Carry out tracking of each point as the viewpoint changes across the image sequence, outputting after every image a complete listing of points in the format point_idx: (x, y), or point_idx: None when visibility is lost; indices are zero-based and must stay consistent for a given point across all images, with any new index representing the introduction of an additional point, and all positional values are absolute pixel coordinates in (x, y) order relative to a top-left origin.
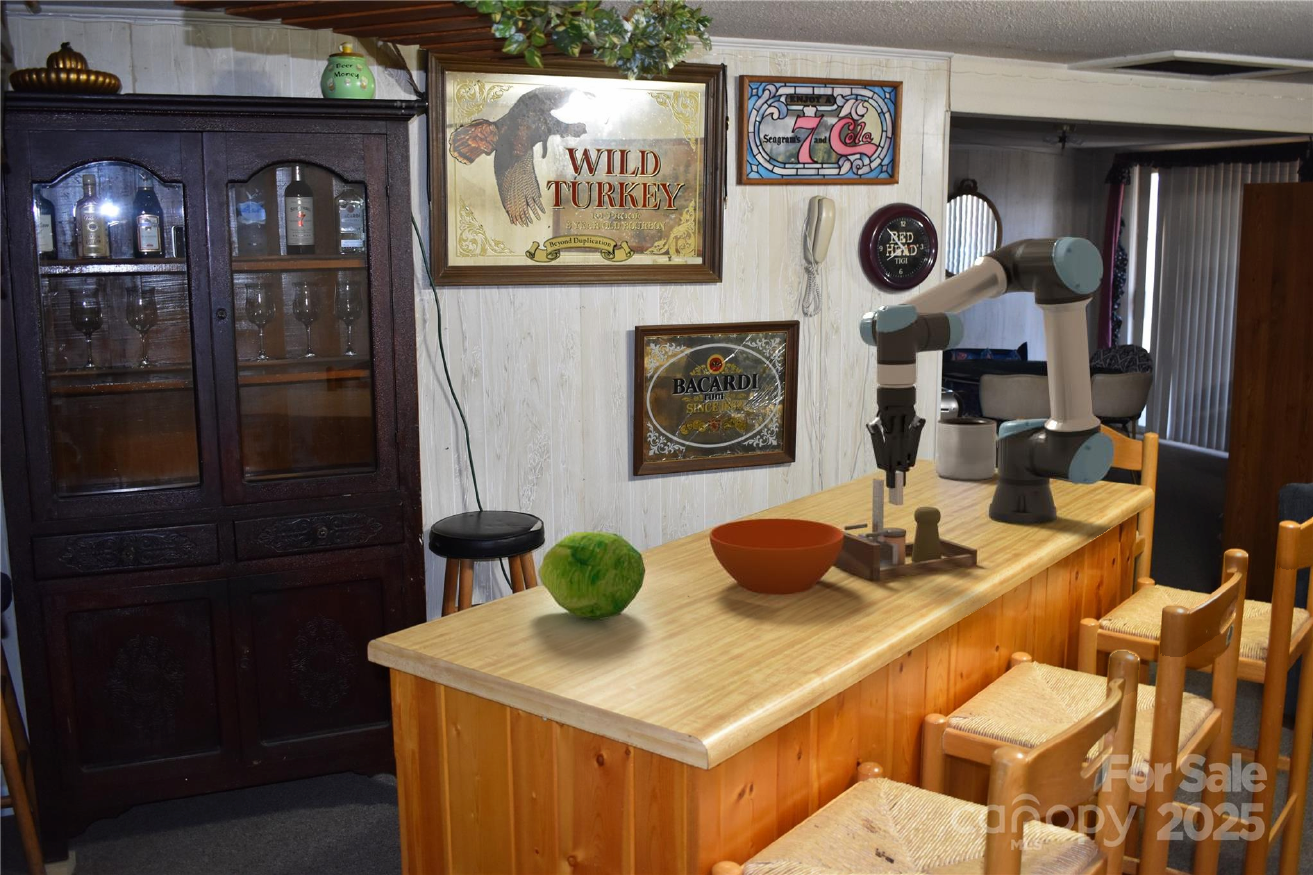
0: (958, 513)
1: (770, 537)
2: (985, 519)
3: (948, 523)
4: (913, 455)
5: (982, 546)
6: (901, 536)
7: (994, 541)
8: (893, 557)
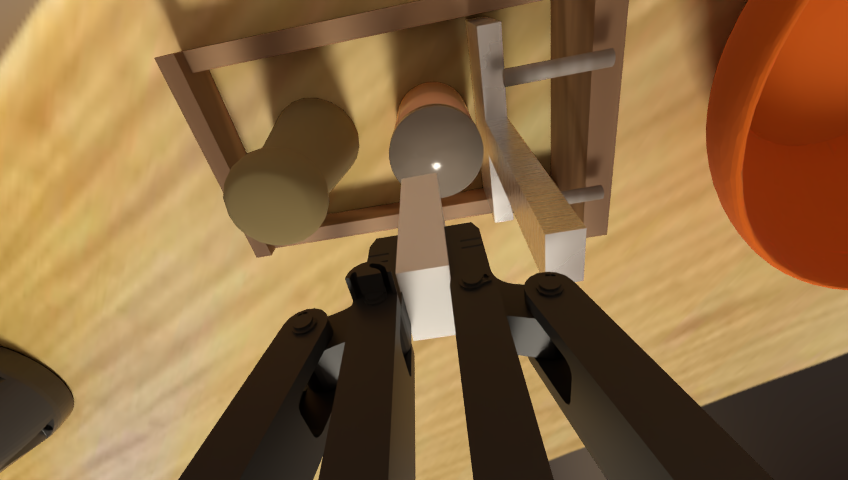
0: (136, 429)
1: (789, 236)
2: (85, 391)
3: (171, 385)
4: (275, 384)
5: (127, 220)
6: (425, 105)
7: (87, 251)
8: (490, 19)
